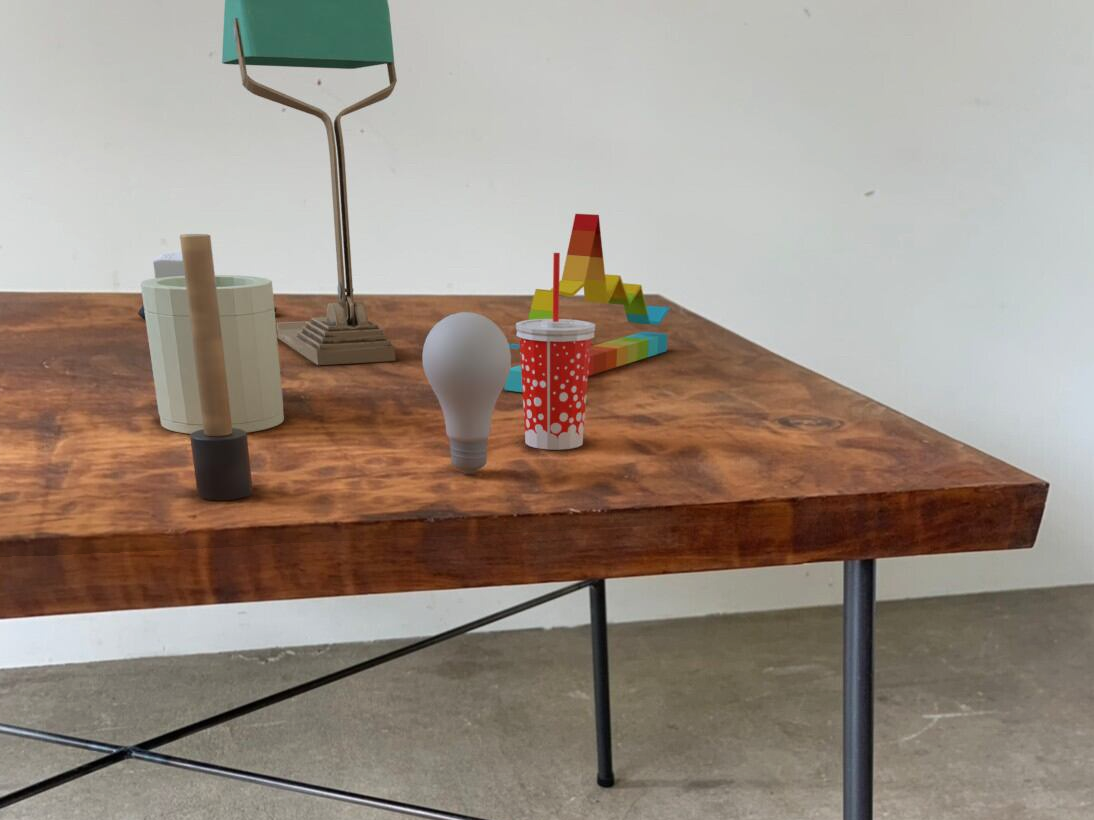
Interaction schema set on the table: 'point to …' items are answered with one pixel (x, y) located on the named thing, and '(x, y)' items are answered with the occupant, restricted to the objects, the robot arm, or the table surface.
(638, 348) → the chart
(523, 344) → the beverage cup
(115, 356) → the table surface
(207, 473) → the brush
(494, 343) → the lightbulb
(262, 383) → the jar
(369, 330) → the banker's lamp
